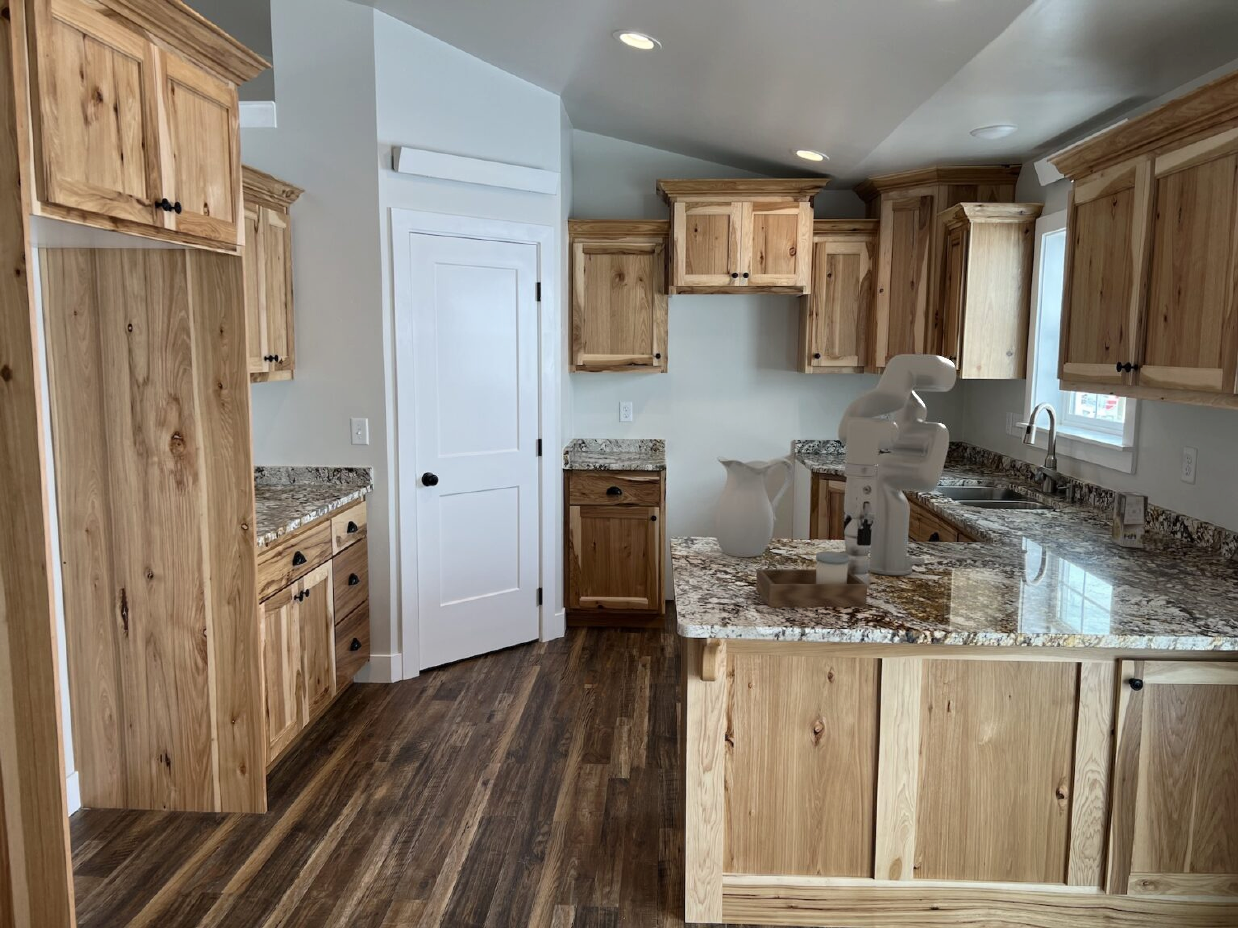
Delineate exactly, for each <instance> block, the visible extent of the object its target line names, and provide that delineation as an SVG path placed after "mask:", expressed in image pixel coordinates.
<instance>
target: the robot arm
mask: <svg viewBox="0 0 1238 928" xmlns="http://www.w3.org/2000/svg"><path fill="white" fill-rule="evenodd" d="M956 381H957V369H956V365H955V364H954V362H952V361H951V360H949V359H947V358H945V357H943V356H940V355H936V354H927V353H926V354H918V353H917V354H915V353H912V354H911V353H902V354H898V355H895V356H893V357H892V358H890V360H889V361H888V363H886V367H885V368H884V371H883V373H882V374H881V377H880V379H879V380H878V383H877V385H876V387H875V388H873V389H872V390H869V391H868V392H866V393H864V394H862V395H861V396H859V397H857V398H855V399H854V400H853V401H851V403H850V404H849V405H848V406H847V408H846V410H845V412H844V414H843V416H842V417H841V420H840V421H839V425H838V430H837V431H838V432H837V435H838V437H837V438H838V440H839V442H840V443H841V444H842V445H844V446H846V448H845V461H844V464H845V465H844V477H845V478H846V481H845V488H844V489H845V491H844V500H843V501H844V502H843V513H844V516H843V529H842V530H843V531H842V537H844V538H845V535H844V531H845V528H846V526H847V525H848V524H849V522H850V521H851V520H852V518H851V517H853V518H855V519H858V523H859V528H858V532H857V545H859V546H870V548H869V559H868V572H870V573H873V574H879V575H884V576H885V575H886V576H904V575H909V574H912V572H913V567H912V566H913V565H914V564H917V565H924V564H925V563H926V559H925V557H924V556H916V555H911V554H909V553H908V544H909V543H908V542H909V528H910V514H911V513H910V511H911V507H910V503H909V501H908V499H907V497H906V496H905V493H904V492H903V491H909V492H915V493H932V492H934V491H935V490H937V488H938V486H939V484H940V481H941V477H942V474H943V471H944V466H945V461H946V458H947V454H948V449H949V445H950V434H949V429H948V428H947V427H946V426H945V424H942V423H939V422H934V421H926V418H927V416H928V415H927V414H928V409H927V407H926V405H925V403H924V402H923V401H922V399H921V398H920V397H919V396H918V395H917V394H916V391H918V392H919V391H920V392H937V393H938V392H939V393H940V392H941V393H943V392H948V391H950V390H952V389H953V387H954V386H955V383H956ZM891 413H893V414H892V417H891V419H889V418H881V417H878V416H883V415H888V414H891ZM879 450H887V451H888V452H885V453H880V451H879ZM879 453H880V454H879ZM862 520H864V522H862ZM871 533H872V537H871Z"/></svg>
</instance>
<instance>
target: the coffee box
mask: <svg viewBox="0 0 1238 928" xmlns="http://www.w3.org/2000/svg"><path fill="white" fill-rule="evenodd" d="M1148 501H1149V496H1148V495H1145V494H1142V493H1139V492H1136V491H1115V493H1114V504H1113V506H1114V507H1113V515H1112V516H1113V518H1112V530H1111V539H1110V540H1111V542H1113V543H1115V544H1117V545H1118V546H1121V547H1123V548H1125V547H1126V548H1137V549H1138V548H1140V549H1142V548H1144V542H1145V541H1144V540H1145V533H1146V532H1145V530H1146V521H1147V513H1148Z"/></svg>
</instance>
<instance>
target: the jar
mask: <svg viewBox="0 0 1238 928" xmlns="http://www.w3.org/2000/svg"><path fill="white" fill-rule="evenodd" d="M815 560H816V568H815V569H816V584H847V570H848V562H849V555H847V554H846V552H844V553H843V552H839V551H829V550H828V551H826V550H824V551H819V552H817V553H816V554H815Z"/></svg>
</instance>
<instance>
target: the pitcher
mask: <svg viewBox="0 0 1238 928" xmlns="http://www.w3.org/2000/svg"><path fill="white" fill-rule="evenodd" d="M717 460H718V463H720V464H721V465H722V466H723V467H724V468H725V470H726V473H727V474H726V475H727V478H726V481H725V484H724V487H723V490H722V492H721V495H720V496H719V499H718V502H717V504H716V508H715V511H714V516H713V517H714V519H713V530H714V535H715V538H716V542H717V544H718V546H719V547H720V549H721V551H722V553H724V554H725V555H728V556H730V557H735V558H736V557H737V558H754V557H760V556H761V555H762V554H763V553H764V552H765V551H766V549H767V547H768V546H769V544H770V542H771V539H772V537H773V531H774V523H776V522H777V521H778V520H777V518H776V514H775V511H776V508H777V506H778V505H779V503H780V501H782V499H783V497H784V496H785V494H786V492H787V491H788V490H789V488H790V486H791V485H792V483H793V481H794V477H795V468H794V466H793V464H792V462H791V461H790V460H788V459H786V458H783V457H780V458H779V457H778V458H774V459H772V460H770V461H764V460H751V461H747V462H743V461H740V460H736V459H728V458H726V457H724V456H718V457H717ZM781 464H782V465H784V466H785V468H786V477H785V481H784V483H783V485H782V487H781V488H780V490H779V491H778V493H777V494H776V496H775V497H774V498H773V500H772V502H771V501H770V499H769V496H768V492H767V490H766V487H765V483H764V478H767V477H768V473H769V471H770V470H771V469H772V468H773V467H775V466H777V465H781Z"/></svg>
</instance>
